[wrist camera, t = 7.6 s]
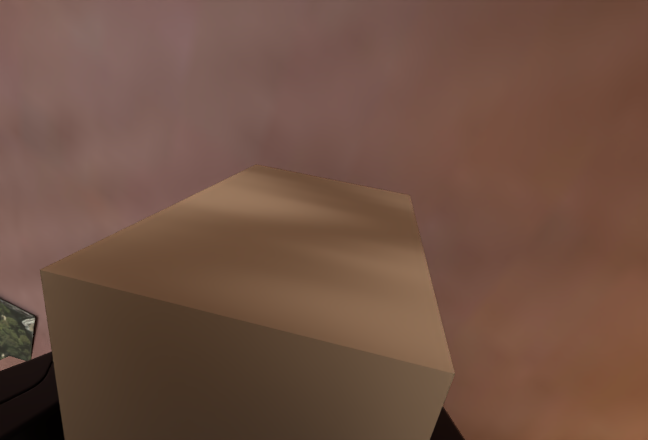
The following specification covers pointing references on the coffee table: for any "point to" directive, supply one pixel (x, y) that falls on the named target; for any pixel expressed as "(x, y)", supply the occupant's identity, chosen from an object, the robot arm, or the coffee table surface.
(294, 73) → the coffee table surface
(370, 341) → the wooden block
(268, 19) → the coffee table surface
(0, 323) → the eiffel tower figurine
